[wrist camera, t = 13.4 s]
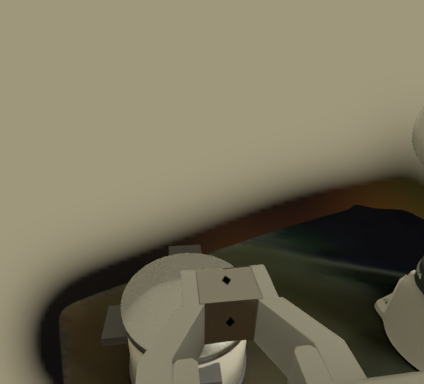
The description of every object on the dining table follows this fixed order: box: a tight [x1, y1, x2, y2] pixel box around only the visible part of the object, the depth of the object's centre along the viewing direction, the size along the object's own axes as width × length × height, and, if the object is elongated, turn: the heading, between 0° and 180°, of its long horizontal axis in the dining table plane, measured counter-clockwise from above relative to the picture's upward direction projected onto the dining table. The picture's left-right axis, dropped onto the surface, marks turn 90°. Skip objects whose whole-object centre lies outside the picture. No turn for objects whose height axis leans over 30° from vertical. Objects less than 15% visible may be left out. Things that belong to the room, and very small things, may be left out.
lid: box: [121, 245, 242, 365], centre depth 38 cm, size 19×17×2 cm
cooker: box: [101, 305, 246, 384], centre depth 40 cm, size 18×21×11 cm
